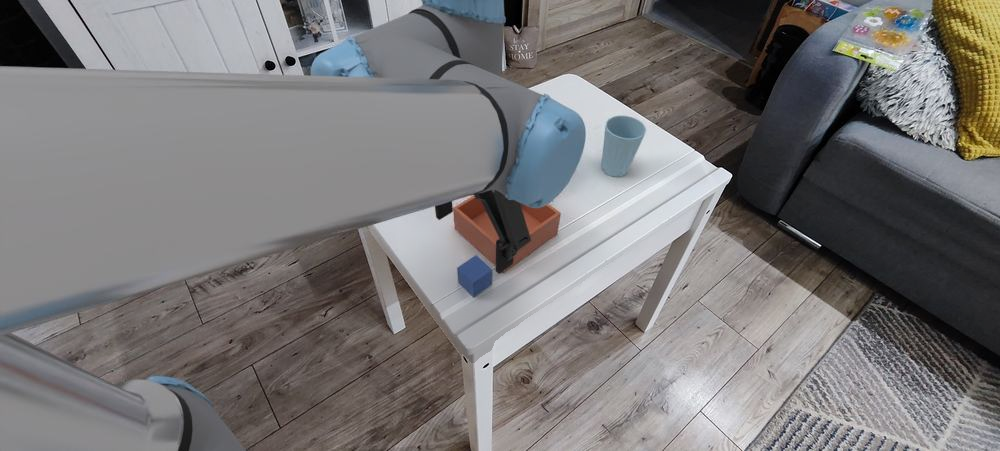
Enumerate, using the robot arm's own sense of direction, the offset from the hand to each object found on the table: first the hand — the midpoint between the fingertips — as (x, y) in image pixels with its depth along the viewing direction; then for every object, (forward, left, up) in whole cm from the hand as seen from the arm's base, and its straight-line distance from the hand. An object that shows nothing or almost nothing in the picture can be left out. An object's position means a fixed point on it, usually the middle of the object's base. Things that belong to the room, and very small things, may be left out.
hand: (473, 239), depth 67 cm
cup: (+40, +2, -11) cm, 42 cm away
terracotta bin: (+11, +4, -10) cm, 16 cm away
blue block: (0, -1, -10) cm, 10 cm away
